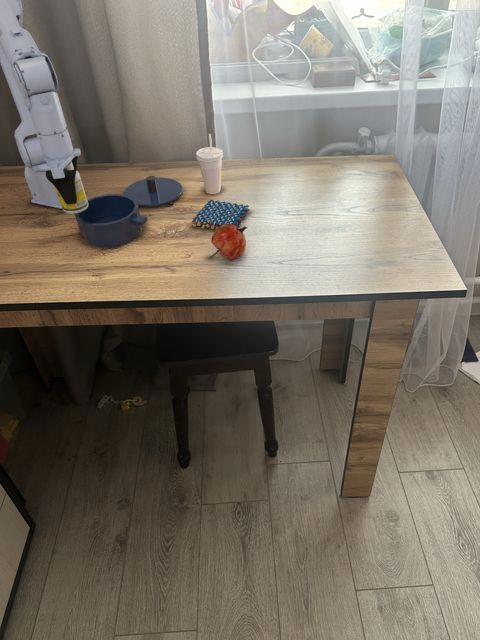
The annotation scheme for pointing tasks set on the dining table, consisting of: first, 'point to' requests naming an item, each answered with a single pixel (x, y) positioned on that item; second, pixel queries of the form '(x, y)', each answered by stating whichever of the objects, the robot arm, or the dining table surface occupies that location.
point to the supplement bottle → (81, 196)
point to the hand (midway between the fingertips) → (72, 196)
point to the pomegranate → (229, 241)
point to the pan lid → (154, 191)
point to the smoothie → (210, 167)
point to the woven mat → (220, 214)
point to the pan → (110, 220)
